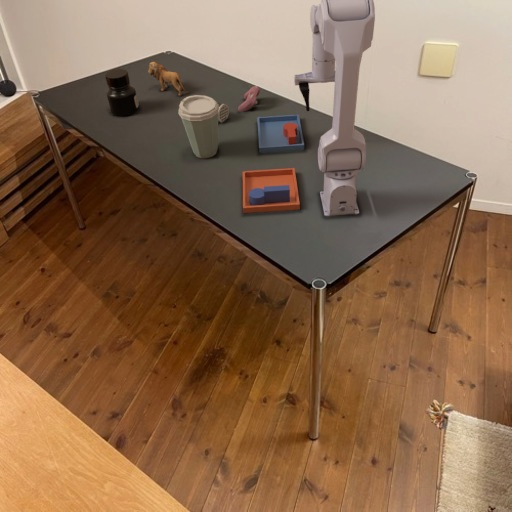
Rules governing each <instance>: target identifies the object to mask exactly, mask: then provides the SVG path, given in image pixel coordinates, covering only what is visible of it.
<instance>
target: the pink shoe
mask: <svg viewBox="0 0 512 512" xmlns="http://www.w3.org/2000/svg"><path fill="white" fill-rule="evenodd" d="M261 90H262V88H261V87H260V86H257V85H253V86H252V87H251V88H250V89H249V90H248V91H246V92H245V93H244V95H243V99H244V102H242V103H241V104H239V106H238V108H237V110H238V112H247V111H249V110H252V108H253V107H254V105H257V104H258V101H257V98H258V96H259V95H260V93H261Z"/></svg>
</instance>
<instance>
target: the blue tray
mask: <svg viewBox="0 0 512 512" xmlns="http://www.w3.org/2000/svg"><path fill="white" fill-rule="evenodd" d="M256 119H257V121H256V122H257V135H258V138H257V139H258V153H260V154H262V153H276V152H277V153H278V152H291V151H304V150H305V142H304V141H305V140H304V135H303V131H302V130H303V129H302V125H301V119H300V115H299V113H298V114H287V115H269V116H258V117H256ZM287 123H295V124H297V136H296V144H293V145H288V139H287V137H285V136H284V135H283V126H284V125H285V124H287Z"/></svg>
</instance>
